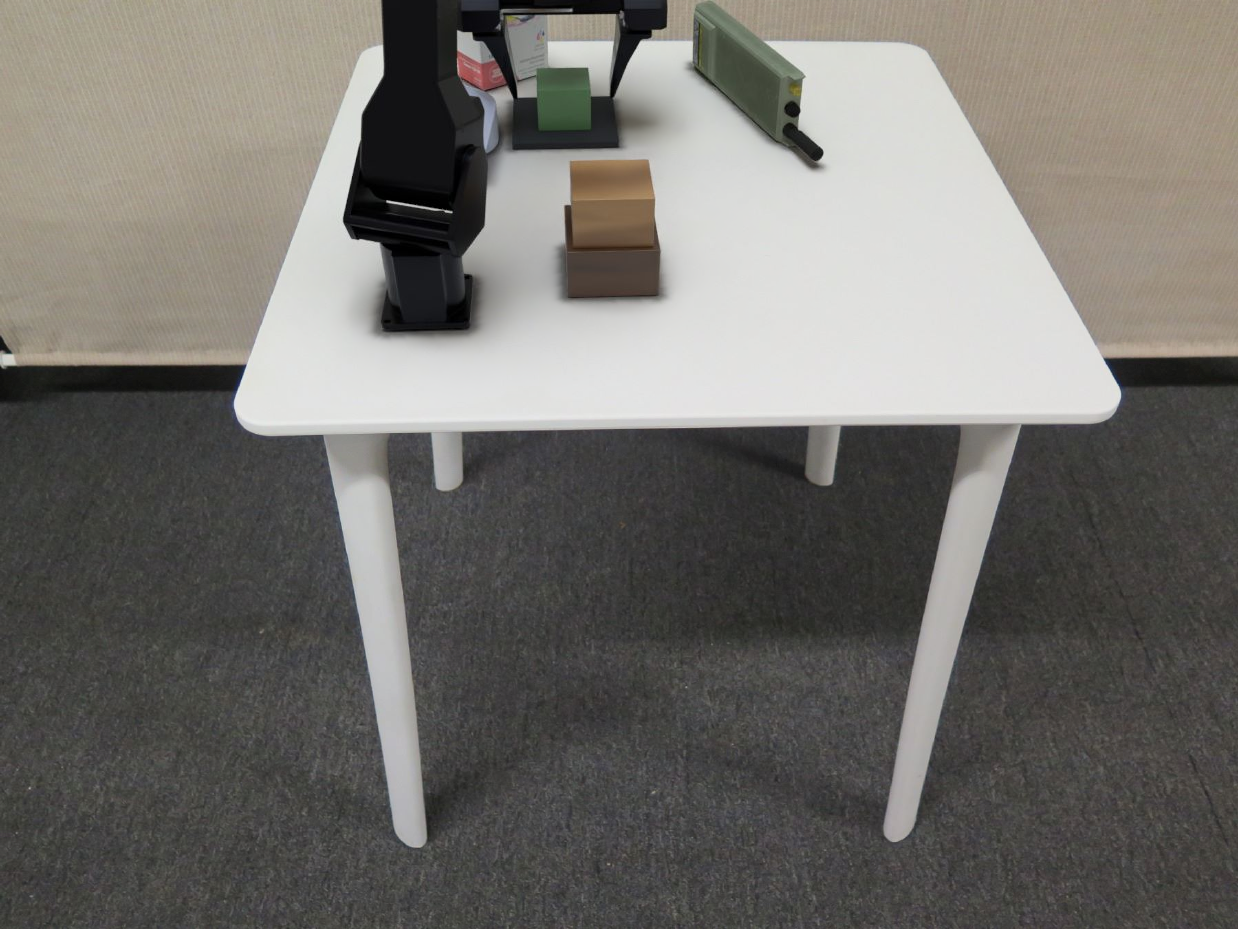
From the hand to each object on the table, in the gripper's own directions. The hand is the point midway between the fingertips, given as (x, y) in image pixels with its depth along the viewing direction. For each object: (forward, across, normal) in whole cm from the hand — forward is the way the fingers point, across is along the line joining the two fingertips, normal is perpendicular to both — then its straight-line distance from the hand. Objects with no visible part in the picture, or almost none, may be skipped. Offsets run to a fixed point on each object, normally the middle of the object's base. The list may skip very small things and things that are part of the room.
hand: (563, 96), depth 97 cm
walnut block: (+3, -3, +26) cm, 26 cm away
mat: (+3, 0, 0) cm, 3 cm away
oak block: (-1, -3, +26) cm, 26 cm away
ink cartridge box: (+3, +6, -12) cm, 14 cm away
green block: (+2, 0, 0) cm, 2 cm away
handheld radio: (+3, -19, -2) cm, 19 cm away
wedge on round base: (+3, +11, +5) cm, 12 cm away
